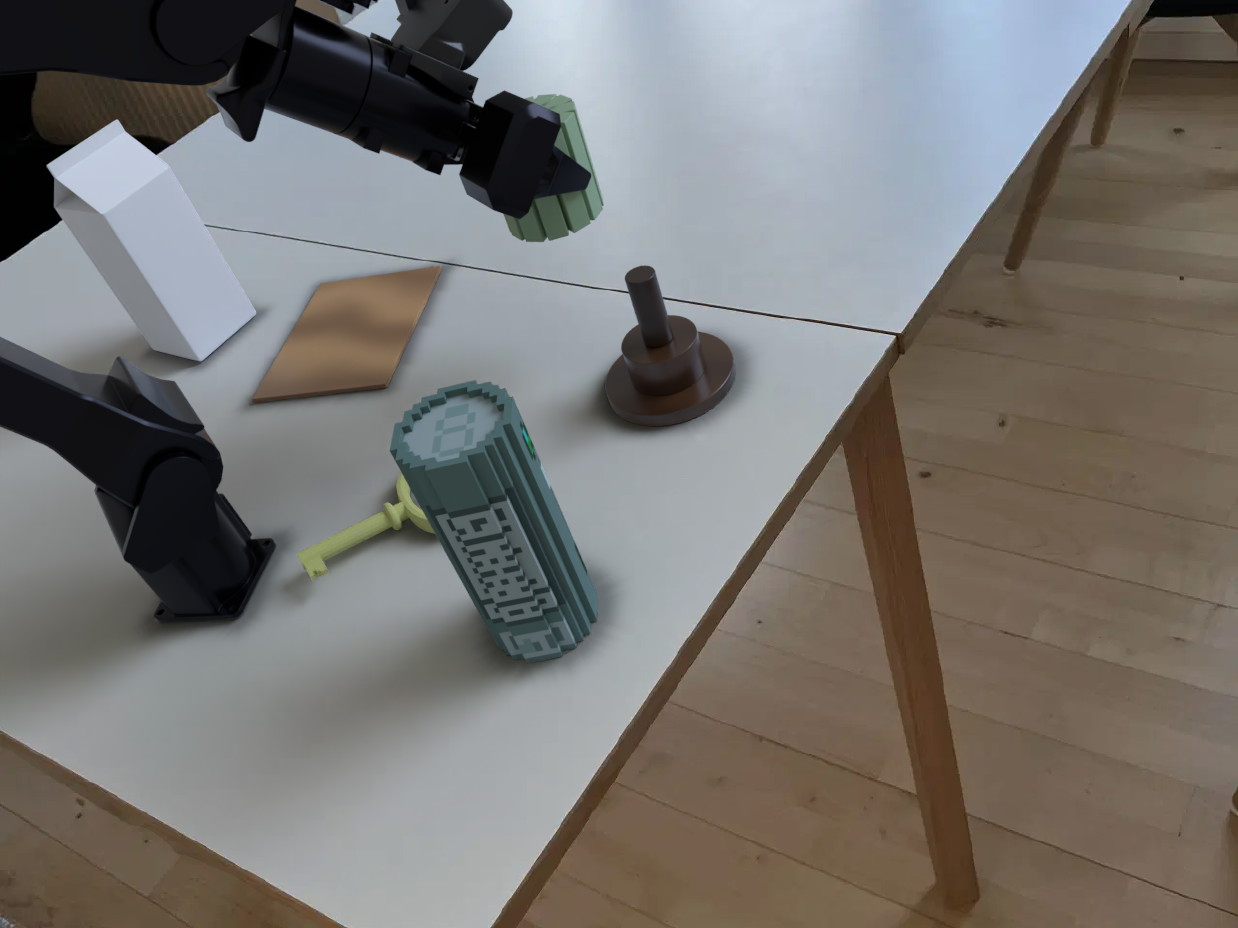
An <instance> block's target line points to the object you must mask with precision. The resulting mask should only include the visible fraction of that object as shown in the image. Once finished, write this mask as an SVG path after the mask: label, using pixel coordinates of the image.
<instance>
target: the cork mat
mask: <svg viewBox="0 0 1238 928" xmlns="http://www.w3.org/2000/svg"><path fill="white" fill-rule="evenodd" d="M442 271H443V268H442V265H437V266H429V267H423V268H417V269H416V268H415V269H409V270H403V271H395V272H391V273H390V272H389V273H383V274H382V273H381V274H377V275H368V276H363V277H356V278H349V279H342V280H335V281H328V282H323V283H320V284H319V286H318V287H317V289H316V291H315V292H314V294H313V296H312V297H311V300H309V302H308V304H307V306H306V308H305V309H304V311H303V312H302V314H301V315H300V318H299V319H298V321H297V323H296V324H295V326H294V328H293V329H292V331H291V332H290V334H289V335H288V338H287V339H286V341H285V343H284V344H283V345H282V347H281V349H280V351H279V352H278V355H277V356H276V357H275V360H274V361H273V362H272V364H271V366H270V367H269V370H268V371H267V373H266V374H265V376H264V377H263V379H262V381H261V383H260V385H259V386H258V388H257V389H256V390H255V393H254V394H253V396H252V398H251V401H252V403H256V404H257V403H264V402H265V403H266V402H272V401H273V402H274V401H281V400H282V401H283V400H291V399H300V398H308V397H317V396H326V395H334V394H342V393H351V392H359V391H361V392H362V391H368V390H369V391H371V390H379V389H386V388H388V386H389V385H390V382H391V380H392V378H393V375H394V373H395V371H396V369H397V368H398V364H399V363H400V360H401V358H402V356H403V354H404V352H405V350H406V349H407V345H408V343H409V341H410V339H411V337H412V335H413V334H414V330H415V329H416V326H417V324H418V322H419V320H420V318H421V316H422V313H423V311H424V309H425V307H426V305H427V303H428V301H429V298H430V297H431V293H433V290H434V289H435V286H436V283H437V281H438V280H439V278H440V275H441V274H442Z"/></svg>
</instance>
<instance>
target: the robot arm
mask: <svg viewBox="0 0 1238 928" xmlns="http://www.w3.org/2000/svg"><path fill="white" fill-rule="evenodd" d="M297 1H298V0H0V76H8V75H20V74H30V73H43V72H59V73H70V74H71V73H72V74H81V75H88V76H94V77H99V78H106V79H113V80H119V81H126V82H134V83H136V82H137V83H150V84H163V85H176V86H189V87H190V86H191V87H192V86H193V87H194V86H195V87H197V86H199V87H200V86H205V85H209V84H213V83H216V82H218V81H220V80H221V79H223V78H224V79H223V80H222V81H220V82H219V83H217V84H215V85H214V84H213V85H211V86H209V87H207V89H206V90H205V93H206V96H207V98H209V99H210V100H211V101H212V102H213V103H214V104H215V105H216V107H217V109H218V111H219V113H220V116H221V118H222V121H223V123H224V126H225V127H226V128H227V129H228V130H230V131H231V132H232V133H234V134H235V135H237V137H239V138H240V139H241V140H243V141H244V142H246V143H251V142H254V141H255V140H256V138H257V135H258V131H259V128H260V126H261V123H262V122H261V121H262V118H263V115H264V111H265V110H266V111H269V112H272V113H276V114H277V115H281V116H283V117H285V118H286V117H287V118H289V119H292V120H295V121H298V122H299V123H303V124H305V125H309V126H311V127H314V128H317V129H320V130H322V131H326V132H329V133H331V134H333V135H336V136H339V137H341V138H344V139H347V140H349V141H351V142H352V143H354V144H356V145H358V146H359V147H360V148H362V149H365V150H367V151H370V152H373V153H376V154H378V155H380V153H381V152H384V153H387V154H389V155H392V156H395V157H398V158H400V159H404V160H407V161H409V162H411V163H413V164H415V165H416V166H418V167H419V168H421V169H422V170H425V171H426V172H427V171H428V172H430V173H433V174H435V175H438V176H442V171H443V169H444V166H459V165H460V166H461V168H460V170H459V173H458V176H459V178H460V181H461V183H462V186H463V189H464V191H465V194H466V195H467V196H469V197H470V198H472V199H473V200H475V201H477V202H479V203H480V204H482V205H483V206H485V207H487V208H488V209H490V210H492V211H495V212H497V213H500V214H503V215H504V214H506V215H509V216H512V217H514V218H517V219H521V218H523V217H524V216H525V215H526V214H528V213H529V210H530V207H531V205H532V202H533V200H534V199H538V198H543V197H548V196H554V195H559V194H565V193H570V192H576V191H581V190H585V189H586V188H587V187H588V184H589V182H590V179H591V173H590V172H589V171H588V170H586V169H585V168H584V167H582V166H581V165H580V164H578V163H577V162H576V161H574V160H573V159H572V158H571V157H569V156H568V155H567V154H565V153H564V152H563V151H561V150H560V149H559V148H557V147H556V146H555V145H554V144H555V141H556V139H557V136H558V133H559V131H560V128H561V120H560V114H559V113H556V112H554V111H552V110H549V109H547V108H545V107H543V106H540V105H538V104H536V103H533V102H531V101H529V100H526V99H525V98H524V97H521V96H519V95H517V94H514V93H511V92H509V91H507V90H502V91H500V92H499V93H497V94H495V95H492V96H491V97H489V98H487V99H485V100H484V104H483V105H479V104H477V103H476V102H475V99H474V98H473V96H474V93H475V91H476V87H477V85H478V82H479V80H480V78H479V77H477V76H475V75H472V74H470V73H468V72H466V70H468V69H470V68H471V67H472V66H473V65H474V64H475V63H476V62H477V60H478V59H479V58H480V56H482V54H483V53H484V51H485V50H486V49H487V48H488V46H489V45H490V44H491V42H492V41H493V39H494V38H495V37H496V35H497V34H498V33H499V32H500V31H504V30H505V29H506V28H507V26H508V25H509V24H510V22H511V21H512V18H513V13H514V12H513V9H512V8H511V7H510V5H508V3H507V2H506V1H505V0H394V1H395V4H396V7H397V10H398V13H399V15H398V16H397V18H396V21H397V22H398V23H399V24H400V25H399V26H398V27H397V30H396V31H395V32H394V34H393V36H392V37H391V39H389V38H386V37H384V36H382V35H380V34H377V33H374V32H372V31H371V32H370V35H369V36H368V35H366V34H363V33H362V32H359V31H356V30H355V29H352V28H350V27H347V26H345V25H343V24H340V23H338V22H335V21H334V20H331V19H329V18H326V17H325V16H322V15H320V14H318V13H315V12H313V11H310V10H308V9H306V8H303V7H302V6H299V5H297ZM317 1H318V2H320V3H323V4H324V5H327V6H330V7H332V8H334V9H336V10H338V11H341V12H343V13H346V14H348V15H351V16H353V15H354V13H355V10H356V5H357V6H360V7H361V8H365V9H367V10H369V9H370V7H371V3H375V4H378V3H379V0H317ZM0 428H3V429H5V430H7V431H9V432H11V433H15V434H16V435H19V436H21V437H24V438H27V439H29V440H31V441H33V442H36V443H39V444H41V445H43V446H45V447H47V448H48V449H50V450H52V451H53V452H54V453H56V454H57V455H59V456H60V457H61V458H62V459H63V460H64V461H66V463H68V464H70V465H71V466H72V467H73V468H74V469H75V470H77V471H78V472H79V473H80V474H82V476H84V477H85V478H86V479H87V480H89V481H90V482H92V484H94V485H95V486H94V490H93V491H94V495H95V497H96V500H97V501H98V504H99V506H100V509H101V510H102V513H103V515H104V518H105V519H106V523H107V524H108V527H109V528H110V529H109V530H110V531H111V534H112V536H113V538H114V540H115V542H116V545H117V547H118V549H119V552H120V554H121V556H122V559H123V560H124V562H125V563H127V564H129V565H130V566H131V567H132V568H133V570H134V571H135V572H136V573H137V575H138V576H139V577H140V578H141V579H142V580H143V581H144V583H145V584H146V585H147V586H148V587H149V588H150V589H151V591H152V592H153V593H154V594H155V595H156V596H157V598H158V599H159V600H160V602H159V604H158V606H157V607H156V609H155V611H154V613H153V618H154V619H155V620H156V621H157V622H158V623H176V622H179V623H180V622H196V621H197V622H198V621H199V622H200V621H217V620H218V621H219V620H235V619H237V618H239V617H241V616H242V615H243V613H244V612H245V609H246V607H247V606H248V603H249V602H250V600H251V597H252V596H253V594H254V591H255V589H256V587H257V585H258V584H259V581H260V579H261V577H262V575H263V573H264V571H265V569H266V567H267V566H268V564H269V561H270V559H271V558H272V556H273V554H274V551H275V549H276V548H277V543H276V541H275V540H274V538H272V537H265V538H264V537H263V538H252V536H253V534H252V532H251V530H250V528H249V527H248V526H247V524H246V523H245V522H244V521H243V518H241V516H240V515H239V513H238V512H237V511H236V509H235V508H234V507H233V505H232V504H231V503H230V501H229V500H228V499H227V497H226V496H225V494H224V493H223V492H222V493H221V492H218V491H217V490H218V489H219V487H220V484H221V483H222V480H223V473H224V462H223V459H222V455H221V452H220V450H219V448H218V447H217V445H216V444H215V443H214V441H213V440H212V438H211V437H210V435H209V433H208V432H207V430H206V429H205V425H204V423H203V422H202V420H201V419H200V417H199V416H198V414H197V413H196V411H195V409H194V408H193V407H192V405H191V403H190V402H189V400H188V399H187V397H186V396H185V394H184V393H183V391H182V390H181V387H179V385H178V383H177V382H176V380H170V379H162V378H161V379H160V378H158V377H155V376H152V375H149V374H148V373H146V372H145V371H143V370H141V369H140V368H139V367H137V366H136V365H134V363H132V362H131V361H129V360H128V359H126V358H124V357H122V356H120V355H118V356H116V357H115V358H114V361H113V363H112V365H111V368H110V370H109V372H108V374H102V373H91V372H90V373H89V372H81V371H77V370H73V369H70V368H68V367H65V366H63V365H61V364H59V363H57V362H55V361H52V360H51V359H49V358H46V357H44V356H43V355H40V354H38V353H36V352H33V351H31V350H29V349H27V348H25V347H23V346H21V345H18V344H17V343H14V342H12V341H11V340H8V339H6V338H4V337H2V336H0Z"/></svg>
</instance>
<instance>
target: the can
mask: <svg viewBox="0 0 1238 928" xmlns="http://www.w3.org/2000/svg"><path fill="white" fill-rule="evenodd" d="M389 453H390V455H391V457H392V458H393V460H394V462H395V464H396V466H397V467H398V468H399V471H400V473H402V474H403V476H404V478H405V480H406V482H407V484H408V485H409V487H410V489H411V491H410V492H411V493H412V494H413V495H414V498H415V500H416V502H417V504H418V505H419V507H420V509H421V510H422V511H423V513H424V514H425V516H426V518H427V520H428V522H429V523H430V525H431V527H432V529H433V531H434V532H435V534H434V535H435V536H436V538H437V540H438V541H439V543H440V545H441V547H442V549H443V550H444V553H445V554H446V556H447V558H448V560H449V561H450V564H451V565H452V567H453V569H454V571H455V573H456V574H457V576H458V578H459V579H460V581H461V583H462V585H463V587H464V589H465V591H466V592H467V594H468V596H469V598H470V600H471V601H472V604H473V605H474V607H475V609H476V611H477V612H478V614H479V616H480V618H481V619H482V621H483V623H484V625H485V626H486V629H487V630H488V632H489V634H490V636H491V638H492V639H493V641H494V642H495V644H496V646H497V648H498V650H499V651H500V652H501V651H504V653H505V655H506V656H511V659H512V660H513V661H516V660H520V659H524V660H525V662H526V664H531V663H535V662H540V661H541V662H542V661H546V660H550V659H556V658H561V657H563V651H567V650H573V649H577V643H578V642H584V636H585V635H590V634H591V623H592V622H597V621H598V593H597V590H596V588H595V585H594V583H593V581H592V579H591V575H590V574H589V572H588V569H587V567H586V564H585V562H584V560H583V557H582V555H581V553H580V551H579V548H578V546H577V544H576V541H575V538H574V537H573V534H572V532H571V530H570V527H569V525H568V523H567V520H566V518H565V515H564V513H563V511H562V509H561V505H560V504H559V501H558V499H557V496H556V494H555V492H554V490H553V487H552V485H551V482H550V479H549V478H548V475H547V473H546V471H545V469H544V466H543V464H542V461H541V460H540V459H541V458H540V456H539V455H538V452H537V450H536V447H535V445H534V443H533V440H532V438H531V436H530V433H529V431H528V429H527V427H526V424H525V422H524V420H523V418H522V414H521V412H520V409H519V407H518V405H517V403H516V400H515V398H514V396H510V395H509V393H508V390H507V388H506V387H503V388H500V386H499V384H494V385H493V383H492V381H491V380H489V381H485V382H482V383H478V381H477V380H476V379H473V380H469V381H465V382H461V383H457V384H452V385H448V386H444V387H440V388H437V390H436V393H435V394H431V395H426V396H422V397H421V399H420V402H417V403H413V404H412V408H411V409H409V410H404V413H403V417H402V421H400V422H395V423H394V425H393V431H392V437H391V441H390V446H389Z"/></svg>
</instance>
